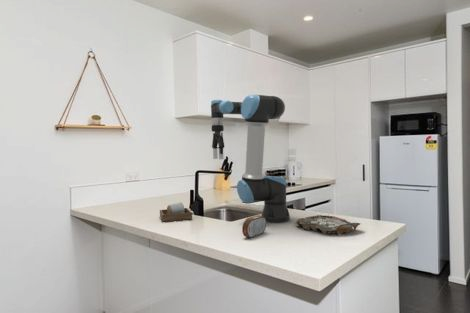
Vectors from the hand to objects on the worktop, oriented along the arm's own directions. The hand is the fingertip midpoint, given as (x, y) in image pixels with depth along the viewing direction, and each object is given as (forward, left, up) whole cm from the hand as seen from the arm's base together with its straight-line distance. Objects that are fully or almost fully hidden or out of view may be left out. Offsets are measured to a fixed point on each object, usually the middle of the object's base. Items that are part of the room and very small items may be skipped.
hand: (218, 159), depth 208 cm
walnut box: (-16, +29, -32) cm, 46 cm away
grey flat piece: (-67, -33, -32) cm, 81 cm away
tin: (-66, +2, -32) cm, 73 cm away
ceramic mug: (-18, +29, -31) cm, 46 cm away
